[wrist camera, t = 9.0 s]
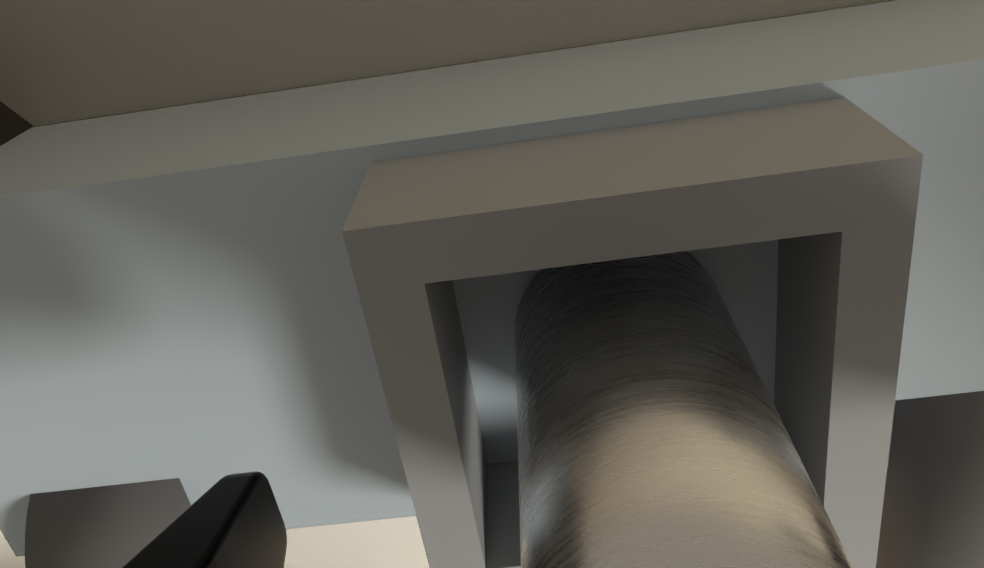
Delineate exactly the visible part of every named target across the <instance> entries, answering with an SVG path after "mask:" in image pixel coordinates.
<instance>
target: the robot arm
mask: <svg viewBox="0 0 984 568" xmlns="http://www.w3.org/2000/svg"><path fill="white" fill-rule="evenodd" d="M286 546H287V535H286V528H285V524H284V521H283V518H282V516H281V513H280V510H279V508H278V505H277V502H276V499H275V497H274V494H273V491H272V489H271V486H270V483H269V481H268V479H267V477H266V476H265V475H264V474H263V473H261V472H257V471H255V472H246V473H236V474H230V475H226V476H224V477H223V478H221V479H220V480H219V481H218V482H217V483H215V484H214V485H213V486H212V487H211V488H210V489H209V490H208V491H207V492H205V493H204V494H203V495H202V496H201V497H200V498H199V499H198V500H197V501H195V502H194V503H193V504H192V505H191V506H190V507H189V508H188V509H186V510H185V511H184V512H183V513H182V514H181V515H180V516H179V517H178V518H176V519H175V520H174V521H173V522H172V523H171V524H170V525H169V526H168V527H166V528H165V529H164V530H163V531H162V532H161V533H160V534H159V535H158V536H156V537H155V538H154V539H153V540H152V541H151V542H150V543H149V544H147V545H146V546H145V547H144V548H143V549H142V550H141V551H140V552H139V553H137V554H136V555H135V556H134V557H133V558H132V559H131V560H130V561H129V562H127V563H126V564H125V565H124V566H123V567H122V568H284V562H285V554H286Z"/></svg>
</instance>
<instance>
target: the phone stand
mask: <svg viewBox="0 0 984 568" xmlns="http://www.w3.org/2000/svg"><path fill="white" fill-rule="evenodd" d="M32 127H33V126H32V125H31V124H29V123H28V122H27V121H25V120H24V119H23V118H22V117H20V116H19V115H18V114H16V113H15V112H14V111H12V110H11V109H10V108H8V107H7V106H6V105H4V104H3V103H2V102H0V146H1V145H3V144H5V143H6V142H8V141H10V140H12V139H13V138H15V137H17V136H18V135H20V134H22V133H23V132H25V131H27V130H28V129H30V128H32Z"/></svg>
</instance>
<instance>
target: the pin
mask: <svg viewBox="0 0 984 568" xmlns="http://www.w3.org/2000/svg"><path fill="white" fill-rule="evenodd" d="M515 354H516V394H517V434H518V473H519V513H520V553H521V568H853V566H852V564H851V562H850V560H849V558H848V556H847V554H846V552H845V550H844V548H843V546H842V544H841V542H840V540H839V538H838V536H837V533H836V531H835V529H834V527H833V525H832V523H831V521H830V519H829V517H828V515H827V513H826V511H825V509H824V507H823V505H822V503H821V500H820V498H819V496H818V494H817V492H816V490H815V488H814V486H813V484H812V482H811V480H810V478H809V476H808V474H807V472H806V469H805V467H804V465H803V463H802V461H801V459H800V457H799V455H798V453H797V451H796V449H795V447H794V445H793V443H792V441H791V439H790V436H789V434H788V432H787V430H786V428H785V426H784V424H783V422H782V420H781V418H780V416H779V414H778V412H777V410H776V408H775V406H774V403H773V401H772V399H771V397H770V395H769V393H768V391H767V389H766V387H765V385H764V383H763V381H762V379H761V377H760V375H759V373H758V370H757V368H756V366H755V364H754V362H753V360H752V358H751V356H750V354H749V352H748V350H747V348H746V346H745V344H744V342H743V340H742V337H741V335H740V333H739V331H738V329H737V327H736V325H735V323H734V321H733V319H732V317H731V315H730V313H729V311H728V309H727V306H726V304H725V302H724V300H723V298H722V296H721V294H720V292H719V290H718V288H717V286H716V284H715V282H714V280H713V279H712V277H711V276H710V274H709V272H708V271H707V270H706V269H705V268H704V267H703V265H702V264H701V263H700V262H699V261H697V260H696V259H695V258H694V257H693V256H692V255H690V254H689V253H687V252H686V251H682V252H674V253H666V254H658V255H650V256H642V257H634V258H626V259H618V260H610V261H602V262H594V263H586V264H578V265H570V266H562V267H554V268H546V269H541V270H540V271H539V272H538V273H537V274H536V275H535V277H534V278H533V279H532V281H531V282H530V283H529V285H528V287H527V288H526V290H525V292H524V294H523V296H522V298H521V301H520V303H519V306H518V310H517V315H516V321H515Z"/></svg>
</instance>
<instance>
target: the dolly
mask: <svg viewBox="0 0 984 568" xmlns="http://www.w3.org/2000/svg"><path fill="white" fill-rule="evenodd" d="M682 251H686V252H687V253H689V254H690V255H692V256H693V257H694V258H695V259H696V260H697V261H699V262H700V263H701V264H702V265H703V267H704V268H705V269H706V270H707V271H708V272H709V274H710V276H711V277H712V279H713V280H714V282H715V284H716V286H717V288H718V290H719V292H720V294H721V296H722V298H723V300H724V302H725V304H726V306H727V309H728V311H729V313H730V315H731V317H732V319H733V321H734V323H735V325H736V327H737V329H738V331H739V333H740V335H741V337H742V340H743V342H744V344H745V346H746V348H747V350H748V352H749V354H750V356H751V358H752V360H753V362H754V364H755V366H756V368H757V370H758V373H759V375H760V377H761V379H762V381H763V383H764V385H765V387H766V389H767V391H768V393H769V395H770V397H771V399H772V401H773V403H774V406H775V408H776V410H777V412H778V414H779V416H780V418H781V420H782V422H783V424H784V426H785V428H786V430H787V432H788V434H789V436H790V439H791V441H792V443H793V445H794V447H795V449H796V451H797V453H798V455H799V457H800V459H801V461H802V463H803V465H804V467H805V469H806V472H807V474H808V476H809V478H810V480H811V482H812V484H813V486H814V488H815V490H816V492H817V494H818V496H819V498H820V500H821V503H822V505H823V507H824V509H825V511H826V513H827V515H828V517H829V519H830V521H831V523H832V525H833V527H834V529H835V531H836V533H837V536H838V538H839V540H840V542H841V544H842V546H843V548H844V550H845V552H846V554H847V556H848V558H849V560H850V562H851V564H852V566H853V568H984V0H895V1H888V2H881V3H874V4H868V5H861V6H854V7H847V8H840V9H834V10H827V11H820V12H813V13H806V14H800V15H793V16H786V17H779V18H772V19H766V20H759V21H752V22H745V23H738V24H732V25H725V26H718V27H711V28H704V29H698V30H691V31H684V32H677V33H670V34H664V35H657V36H650V37H643V38H636V39H630V40H623V41H616V42H609V43H602V44H596V45H589V46H582V47H575V48H568V49H562V50H555V51H548V52H541V53H534V54H528V55H521V56H514V57H507V58H500V59H494V60H487V61H480V62H473V63H466V64H460V65H453V66H446V67H439V68H432V69H426V70H419V71H412V72H405V73H398V74H392V75H385V76H378V77H371V78H364V79H358V80H351V81H344V82H337V83H330V84H324V85H317V86H310V87H303V88H296V89H290V90H283V91H276V92H269V93H262V94H256V95H249V96H242V97H235V98H228V99H222V100H215V101H208V102H201V103H194V104H188V105H181V106H174V107H167V108H160V109H154V110H147V111H140V112H133V113H126V114H120V115H113V116H106V117H99V118H92V119H86V120H79V121H72V122H65V123H58V124H52V125H45V126H38V127H32V128H30V129H28V130H27V131H25V132H23V133H22V134H20V135H18V136H17V137H15V138H13V139H12V140H10V141H8V142H6V143H5V144H3V145H1V146H0V530H1V532H2V533H3V535H4V537H5V538H6V540H7V541H8V543H9V545H10V546H11V548H12V550H13V551H14V553H15V555H16V556H25V566H26V568H122V567H123V566H124V565H125V564H126V563H127V562H129V561H130V560H131V559H132V558H133V557H134V556H135V555H136V554H137V553H139V552H140V551H141V550H142V549H143V548H144V547H145V546H146V545H147V544H149V543H150V542H151V541H152V540H153V539H154V538H155V537H156V536H158V535H159V534H160V533H161V532H162V531H163V530H164V529H165V528H166V527H168V526H169V525H170V524H171V523H172V522H173V521H174V520H175V519H176V518H178V517H179V516H180V515H181V514H182V513H183V512H184V511H185V510H186V509H188V508H189V507H190V506H191V505H192V504H193V503H194V502H195V501H197V500H198V499H199V498H200V497H201V496H202V495H203V494H204V493H205V492H207V491H208V490H209V489H210V488H211V487H212V486H213V485H214V484H215V483H217V482H218V481H219V480H220V479H221V478H223V477H224V476H226V475H230V474H236V473H246V472H255V471H257V472H261V473H263V474H264V475H265V476H266V477H267V479H268V481H269V483H270V486H271V489H272V491H273V494H274V497H275V499H276V502H277V505H278V508H279V510H280V513H281V516H282V518H283V521H284V524H285V528H286V529H292V528H301V527H311V526H321V525H331V524H341V523H351V522H360V521H370V520H380V519H390V518H400V517H410V516H416V517H417V520H418V524H419V528H420V532H421V536H422V540H423V543H424V547H425V551H426V555H427V559H428V563H429V566H430V568H521V553H520V513H519V473H518V434H517V394H516V354H515V321H516V315H517V310H518V306H519V303H520V301H521V298H522V296H523V294H524V292H525V290H526V288H527V287H528V285H529V283H530V282H531V281H532V279H533V278H534V277H535V275H536V274H537V273H538V272H539V271H540V270H541V269H546V268H554V267H562V266H570V265H578V264H586V263H594V262H602V261H610V260H618V259H626V258H634V257H642V256H650V255H658V254H666V253H674V252H682Z"/></svg>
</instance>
